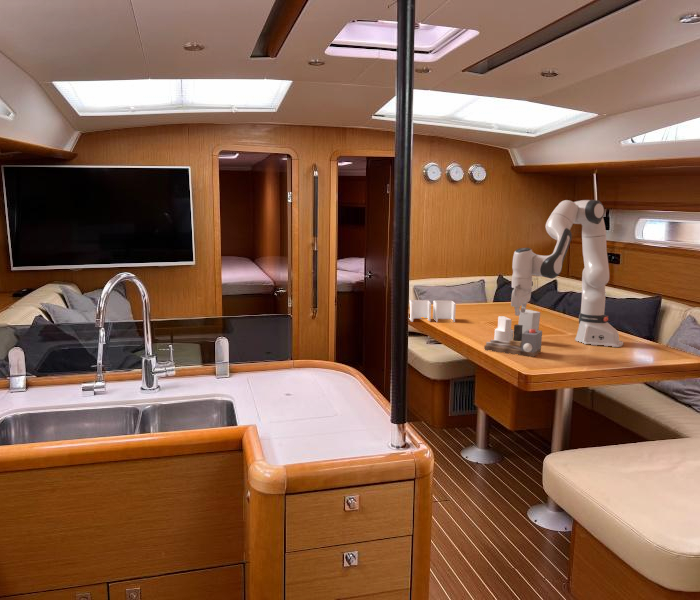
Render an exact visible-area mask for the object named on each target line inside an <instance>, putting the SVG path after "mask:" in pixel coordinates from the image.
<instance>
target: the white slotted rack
mask: <svg viewBox="0 0 700 600" xmlns="http://www.w3.org/2000/svg"><path fill="white" fill-rule="evenodd" d="M409 302H410V318H409V317H408V319H409V321H410V322H411V323H413V322H414V319H422V318H421V317H424V318H428V319H427V322H428V321H430V322H431V317H432V319H434V320H435V321H436V322H435V321H434V320H433V321H434V322H435V323H438V322H439V321H438V320H451V319H452V320H453V321H452V320H451V321H452V323H453V322H455V323H456V308H457V304H456V303H455V302H454V301H453V300H439V299H438V300H433V303H431V301H430V300H428V299H409ZM432 304H433V306H432ZM431 314H432V316H431Z"/></svg>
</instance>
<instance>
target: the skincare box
mask: <svg viewBox="0 0 700 600" xmlns="http://www.w3.org/2000/svg"><path fill="white" fill-rule="evenodd" d="M519 310H520V315H519V316H518V322H517V323H518V324H517V325H523V326H522V333H524V332H525V331H527V330H529V329H535V330H539V328H540V320H541V312H540V311H537V310H532V309H527V308H526V309H525V312H524V313H523V312H521V309H519Z"/></svg>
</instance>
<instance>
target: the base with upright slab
mask: <svg viewBox="0 0 700 600" xmlns="http://www.w3.org/2000/svg"><path fill="white" fill-rule="evenodd" d="M493 336H494V337H493V340H498V341H505V342H510V340H512V339H513V337H514V329H512V319H511V318H509V317H507V316H503V315H501V316H497V327H496V328H494V335H493Z"/></svg>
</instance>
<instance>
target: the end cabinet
mask: <svg viewBox="0 0 700 600" xmlns="http://www.w3.org/2000/svg"><path fill="white" fill-rule="evenodd" d="M542 339H543V330H536V332H535V333H529V330H527V331H525V332H524V333H522V342H521V352H522V351H524V352H531V353H535V352H536V351H537V350H539V346H540V348H541V349H542ZM538 353H539V352H538ZM536 354H537V352H536ZM539 354H540V353H539ZM524 355H525V356H524V357H529V355H527V356H526V354H524ZM537 355H538V354H537ZM520 356H522V353H521V355H520ZM531 356H534V355H531Z"/></svg>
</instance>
